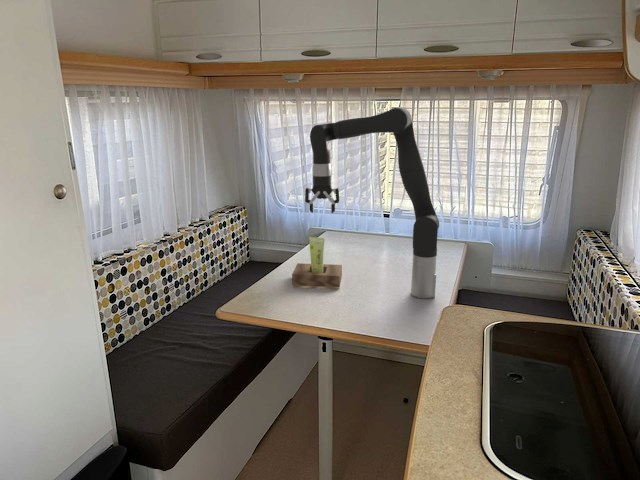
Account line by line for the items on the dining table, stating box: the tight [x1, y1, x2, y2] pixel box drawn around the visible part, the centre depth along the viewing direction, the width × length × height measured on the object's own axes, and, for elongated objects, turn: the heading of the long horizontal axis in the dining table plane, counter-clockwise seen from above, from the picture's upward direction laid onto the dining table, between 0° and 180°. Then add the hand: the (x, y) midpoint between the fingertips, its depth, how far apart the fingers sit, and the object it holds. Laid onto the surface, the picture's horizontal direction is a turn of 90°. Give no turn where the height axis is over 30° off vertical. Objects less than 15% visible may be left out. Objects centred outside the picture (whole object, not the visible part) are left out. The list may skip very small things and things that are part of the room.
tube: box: [308, 236, 325, 273], centre depth 205 cm, size 6×5×20 cm
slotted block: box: [291, 262, 343, 290], centre depth 207 cm, size 20×14×6 cm
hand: (322, 212), depth 201 cm, fingers open, 8 cm apart
